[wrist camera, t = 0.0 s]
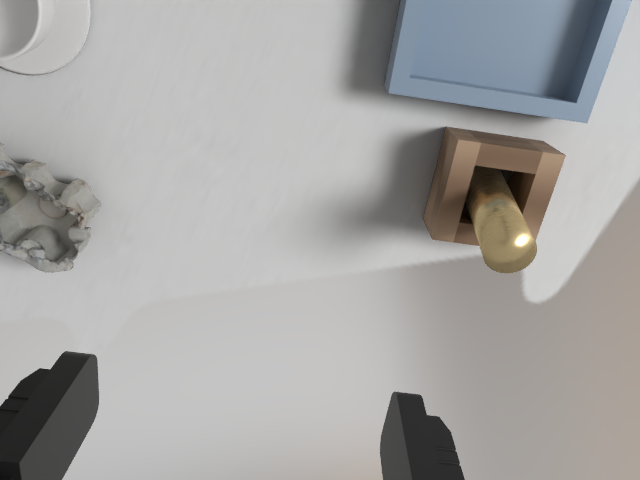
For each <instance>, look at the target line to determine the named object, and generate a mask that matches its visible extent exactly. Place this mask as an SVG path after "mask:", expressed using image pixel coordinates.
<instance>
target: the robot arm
mask: <svg viewBox="0 0 640 480" xmlns="http://www.w3.org/2000/svg"><path fill="white" fill-rule="evenodd" d="M97 368H98V366H97V357H96V356H95V355H93V354H85V353H77V352H68V351H66V352H64V353H63V354H62V355H61V356H60V357H59V359H58V360H57V361H56V363H55V364H54V365H53V367H52V368H51V369H50V370H49V369H41V368H40V369H38V370H37V371H35V372H34V373H32V374H30V375H29V376H28V377H26V378H24V379H23V380H21V381H20V383H19V384H18V385H17V386H16V388H15V389H14V390H13V391H12V393H11V394H10V395H9V397H8V399H6V400H5V401H4V403H3V404H2V405H1V406H0V480H62V478H63V477H64V475H65V473H66V471H67V469H68V467H69V466H70V464H71V462H72V460H73V459H74V457H75V455H76V453H77V451H78V449H79V448H80V446H81V444H82V442H83V440H84V439H85V437H86V435H87V433H88V431H89V429H90V428H91V426H92V424H93V422H94V419H95V417H96V413H97V410H98V405H99V389H98V369H97ZM455 450H456V448H455V445H454V441H453V438H452V435H451V432H450V430H449V429H448V428H447V427H446V425H445V424H444V423H443V421H442V420H441V419H440V417H437V416H429V415H427V414H426V411H425V407H424V402H423V398H422V396H421V395H418V394H408V393H400V392H393V394H392V396H391V400H390V404H389V407H388V411H387V415H386V419H385V423H384V427H383V431H382V435H381V443H380V456H381V465H382V474H383V480H465V479H464V476H463V472H462V469H461V466H459V463H460V462H459V459H458V456H457V452H456V451H455Z"/></svg>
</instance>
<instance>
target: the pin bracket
mask: <svg viewBox="0 0 640 480" xmlns="http://www.w3.org/2000/svg"><path fill="white" fill-rule="evenodd" d="M565 156H566V155H564V154H563V153H561V152H560V151H558V150H556V149H555V148H553V147H552V146H550V145H549V144H547V143H545V142H544V141H539V140H532V139H525V138H519V137H512V136H505V135H498V134H492V133H485V132H478V131H472V130H465V129H458V128H451V127H446V129H445V133H444V137H443V141H442V145H441V149H440V153H439V157H438V161H437V165H436V169H435V173H434V177H433V181H432V185H431V189H430V193H429V197H428V201H427V205H426V209H425V213H424V217H423V220H424V222H425V224H426V226H427V229H428V231H429V233H430V235H431V237H432V239H433V240H441V241H448V242H455V243H462V244H470V245H477V246H480V245H479V242H478V239H477V236H476V232H475V229H474V226H473V223H472V219H471V216H470V213H469V210H468V206H464V202H465V199H466V195H467V192H468V188H469V185H470V181H471V178H472V174H473V170H474V167H475V165H476V166H483V167H490V168H497V169H504V170H511V171H513V172H512V175H511V178H510V181H509V184H508V187H509V189H510V191H511V193H512V195H513V197H514V199H515V201H516V203H517V205H518V207H519V209H520V211H521V213H522V216H523V218H524V220H525V222H526V224H527V226H528V228H529V230H530V232H531V234H532V236H533V238H534V240H536V238H537V235H538V232H539V229H540V226H541V224H542V221H543V218H544V215H545V212H546V209H547V207H548V204H549V201H550V198H551V195H552V193H553V190H554V187H555V184H556V181H557V178H558V176H559V173H560V170H561V167H562V164H563V161H564V159H565Z"/></svg>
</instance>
